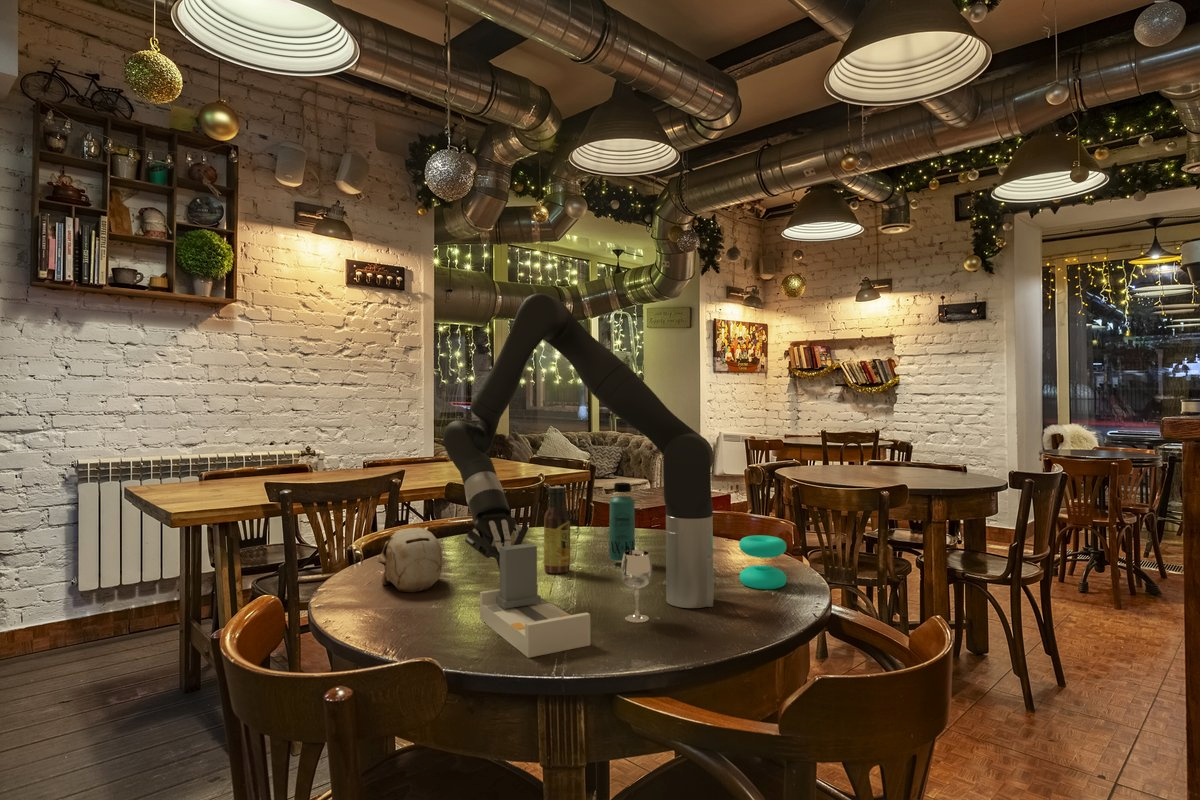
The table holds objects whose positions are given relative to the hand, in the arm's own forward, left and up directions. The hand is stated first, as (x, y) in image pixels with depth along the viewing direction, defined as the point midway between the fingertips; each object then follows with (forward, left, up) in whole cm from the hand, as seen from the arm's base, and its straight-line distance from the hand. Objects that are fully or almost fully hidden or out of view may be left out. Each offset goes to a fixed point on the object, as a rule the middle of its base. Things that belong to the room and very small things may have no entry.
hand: (509, 572), depth 127 cm
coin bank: (+28, -18, -8) cm, 35 cm away
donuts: (-48, -30, -8) cm, 57 cm away
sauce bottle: (-1, -34, -8) cm, 35 cm away
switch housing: (-7, +8, -8) cm, 13 cm away
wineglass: (-24, -2, -8) cm, 25 cm away
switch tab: (-3, +3, -4) cm, 6 cm away
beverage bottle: (-15, -44, -8) cm, 47 cm away
